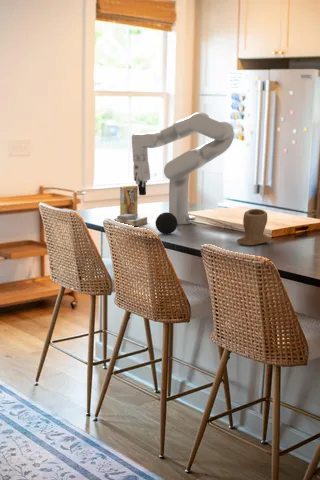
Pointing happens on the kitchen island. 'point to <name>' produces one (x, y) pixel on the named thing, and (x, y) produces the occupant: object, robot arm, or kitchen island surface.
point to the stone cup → (254, 227)
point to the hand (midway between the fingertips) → (142, 194)
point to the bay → (133, 221)
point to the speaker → (166, 223)
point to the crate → (127, 217)
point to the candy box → (128, 200)
